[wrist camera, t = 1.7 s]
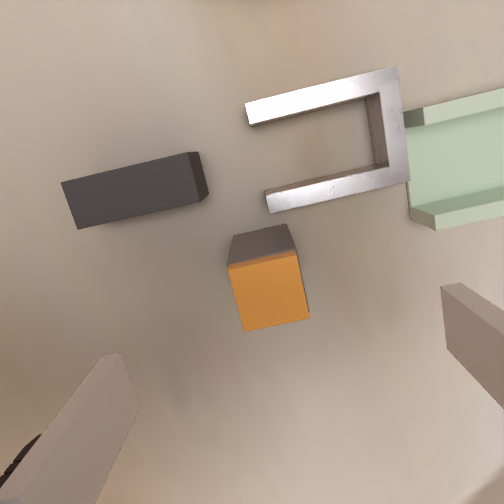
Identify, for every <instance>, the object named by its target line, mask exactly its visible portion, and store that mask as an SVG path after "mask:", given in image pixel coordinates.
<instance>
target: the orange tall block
mask: <svg viewBox="0 0 504 504" xmlns="http://www.w3.org/2000/svg"><path fill="white" fill-rule="evenodd" d="M227 266H228V273H229V277H230V281H231V284H232V288H233V292H234V296H235V299H236V303H237V307H238V311H239V314H240V318H241V322H242V326H243V329H244V332H246V331H251V330H256V329H261V328H265V327H270V326H275V325H280V324H285V323H289V322H294V321H299V320H304V319H308V318H310V317H309V308H308V303H307V298H306V293H305V289H304V284H303V279H302V274H301V270H300V265H299V260H298V255H297V251H296V247H295V244H294V242H293V240H292V237H291V235H290V232H289V230H288V227H287V225H286V224H282V225H278V226H274V227H269V228H265V229H260V230H256V231H252V232H247V233H243V234H239V235H234V237H233V241H232V245H231V249H230V253H229V257H228V261H227Z"/></svg>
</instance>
